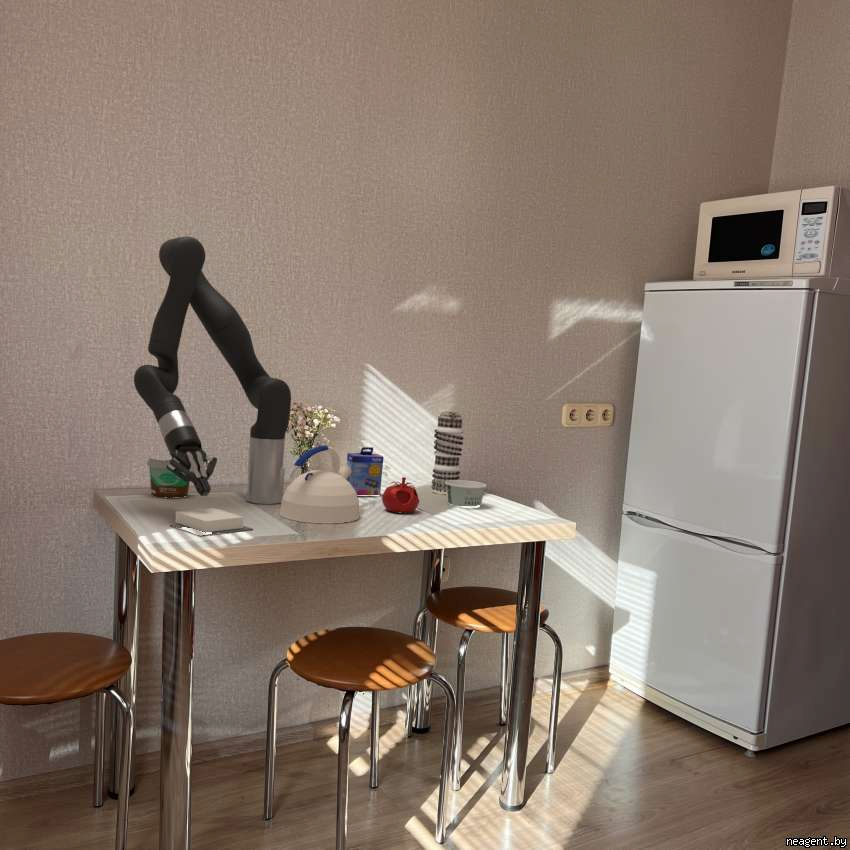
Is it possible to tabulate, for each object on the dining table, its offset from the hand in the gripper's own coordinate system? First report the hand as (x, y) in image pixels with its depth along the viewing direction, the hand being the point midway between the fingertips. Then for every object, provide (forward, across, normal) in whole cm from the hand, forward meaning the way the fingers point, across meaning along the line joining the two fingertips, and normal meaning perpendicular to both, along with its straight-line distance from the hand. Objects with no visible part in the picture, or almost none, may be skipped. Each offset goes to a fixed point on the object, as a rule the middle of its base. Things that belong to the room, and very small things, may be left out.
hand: (205, 493), depth 201 cm
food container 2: (+13, +80, -2) cm, 81 cm away
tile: (+1, 0, +7) cm, 7 cm away
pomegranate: (+11, +56, 0) cm, 57 cm away
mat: (+7, 0, +3) cm, 8 cm away
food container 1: (-19, +12, +30) cm, 37 cm away
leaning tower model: (0, +91, +11) cm, 92 cm away
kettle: (+7, +32, +4) cm, 33 cm away
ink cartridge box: (-5, +63, +16) cm, 65 cm away
